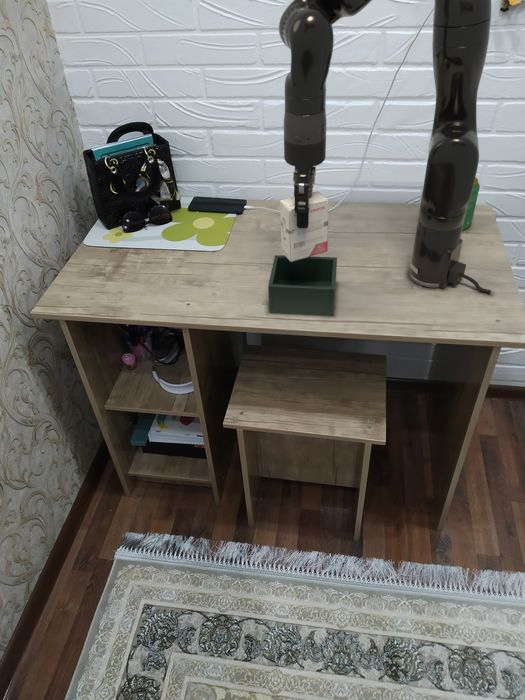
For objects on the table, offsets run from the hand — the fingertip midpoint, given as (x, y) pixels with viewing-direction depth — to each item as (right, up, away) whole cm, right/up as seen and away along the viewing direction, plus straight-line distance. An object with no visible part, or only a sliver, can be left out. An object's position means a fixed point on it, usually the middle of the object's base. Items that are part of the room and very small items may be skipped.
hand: (304, 217), depth 112 cm
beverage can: (+40, +6, +32) cm, 52 cm away
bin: (+1, -15, +13) cm, 19 cm away
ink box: (0, -6, +5) cm, 8 cm away
